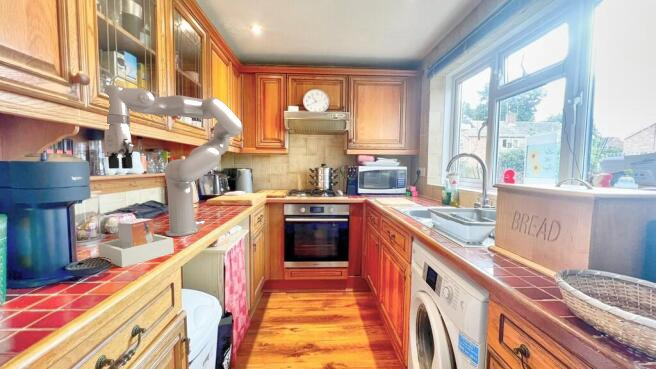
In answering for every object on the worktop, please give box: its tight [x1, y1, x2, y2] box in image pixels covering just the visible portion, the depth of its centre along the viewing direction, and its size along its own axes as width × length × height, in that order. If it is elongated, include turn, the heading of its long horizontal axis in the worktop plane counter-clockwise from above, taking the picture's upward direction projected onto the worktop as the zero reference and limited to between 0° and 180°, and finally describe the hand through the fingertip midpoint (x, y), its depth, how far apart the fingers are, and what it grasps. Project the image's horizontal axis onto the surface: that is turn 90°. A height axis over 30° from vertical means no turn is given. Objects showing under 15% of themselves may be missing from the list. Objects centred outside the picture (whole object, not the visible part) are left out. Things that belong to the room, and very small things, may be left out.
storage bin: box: [97, 233, 175, 268], centre depth 90 cm, size 15×15×5 cm
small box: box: [117, 217, 155, 249], centre depth 90 cm, size 8×6×10 cm
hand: (120, 168), depth 102 cm, fingers open, 9 cm apart
